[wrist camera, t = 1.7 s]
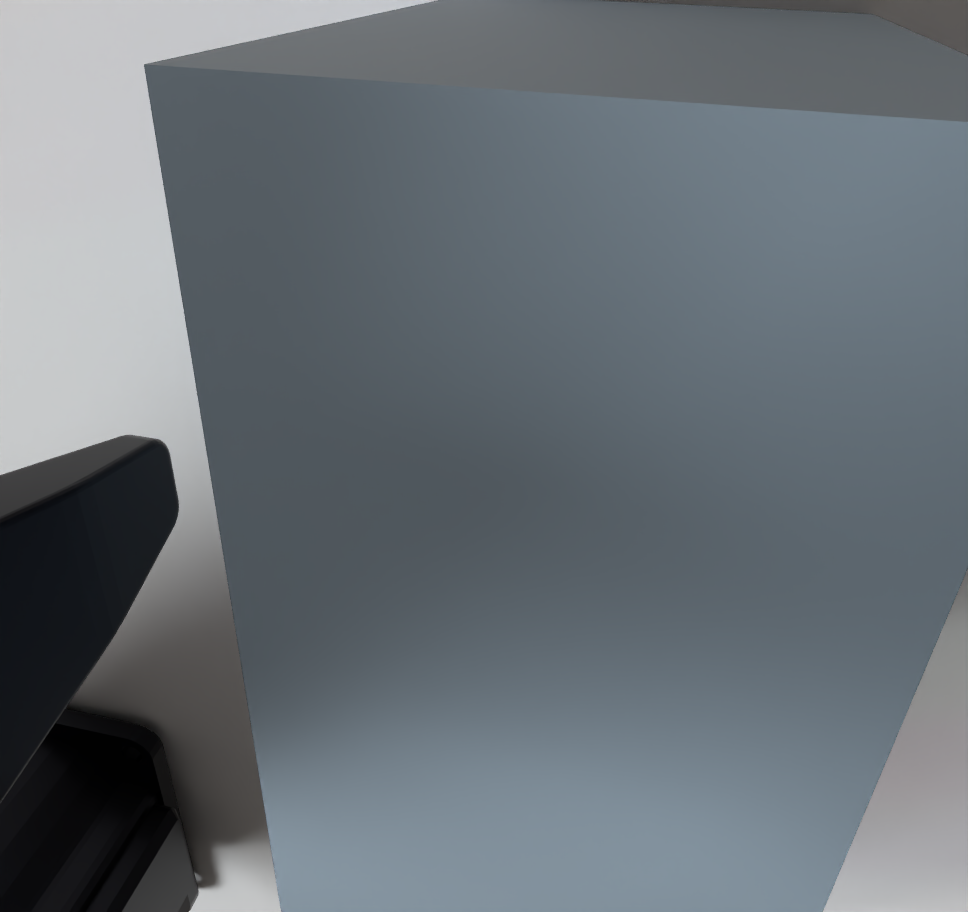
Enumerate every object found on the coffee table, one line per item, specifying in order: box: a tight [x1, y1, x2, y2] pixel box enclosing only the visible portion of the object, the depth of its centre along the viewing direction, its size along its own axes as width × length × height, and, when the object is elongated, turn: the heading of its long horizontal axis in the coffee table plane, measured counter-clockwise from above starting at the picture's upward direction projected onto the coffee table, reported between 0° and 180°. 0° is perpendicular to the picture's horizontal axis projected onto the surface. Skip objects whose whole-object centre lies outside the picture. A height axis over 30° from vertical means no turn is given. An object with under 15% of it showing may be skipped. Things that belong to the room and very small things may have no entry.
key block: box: [144, 0, 968, 912], centre depth 9 cm, size 4×9×7 cm, turn 178°
